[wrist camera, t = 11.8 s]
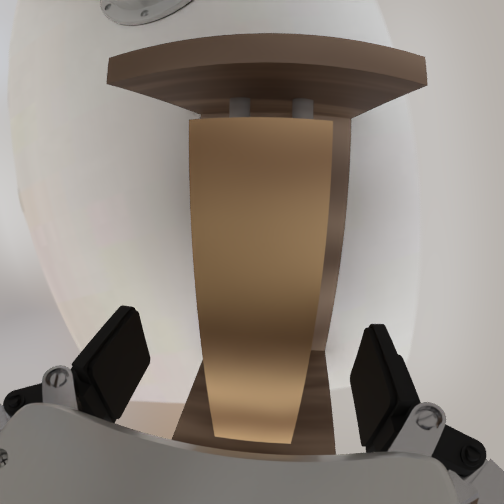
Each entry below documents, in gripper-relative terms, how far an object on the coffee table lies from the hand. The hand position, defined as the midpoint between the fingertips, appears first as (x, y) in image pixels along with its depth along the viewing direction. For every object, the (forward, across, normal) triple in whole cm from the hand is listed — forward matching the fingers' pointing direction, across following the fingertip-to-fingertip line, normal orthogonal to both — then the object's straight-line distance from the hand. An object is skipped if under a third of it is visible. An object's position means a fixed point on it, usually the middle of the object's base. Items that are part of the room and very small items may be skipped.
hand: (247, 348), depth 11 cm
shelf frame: (+15, 0, +1) cm, 15 cm away
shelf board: (+7, 0, +1) cm, 7 cm away
